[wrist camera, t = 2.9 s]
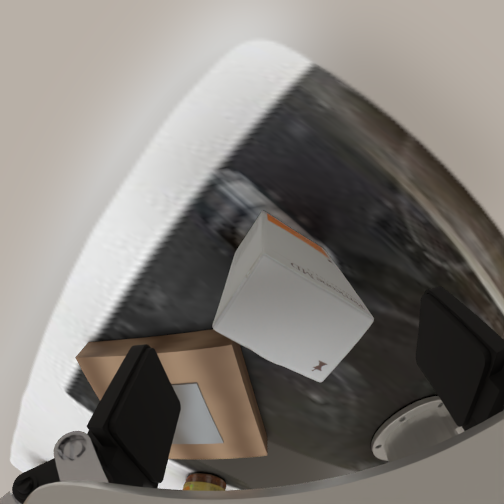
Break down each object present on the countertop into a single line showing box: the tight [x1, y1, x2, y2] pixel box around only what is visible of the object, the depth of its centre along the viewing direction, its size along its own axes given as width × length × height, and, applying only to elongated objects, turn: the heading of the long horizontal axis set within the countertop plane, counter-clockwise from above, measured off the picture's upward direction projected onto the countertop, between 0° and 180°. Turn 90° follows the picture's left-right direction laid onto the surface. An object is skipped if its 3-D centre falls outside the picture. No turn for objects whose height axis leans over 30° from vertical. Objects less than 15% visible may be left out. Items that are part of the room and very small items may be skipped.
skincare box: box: [212, 211, 374, 382], centre depth 18 cm, size 6×4×12 cm
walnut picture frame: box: [76, 329, 267, 459], centre depth 27 cm, size 16×16×3 cm
